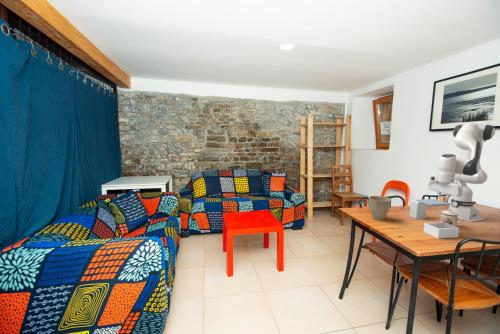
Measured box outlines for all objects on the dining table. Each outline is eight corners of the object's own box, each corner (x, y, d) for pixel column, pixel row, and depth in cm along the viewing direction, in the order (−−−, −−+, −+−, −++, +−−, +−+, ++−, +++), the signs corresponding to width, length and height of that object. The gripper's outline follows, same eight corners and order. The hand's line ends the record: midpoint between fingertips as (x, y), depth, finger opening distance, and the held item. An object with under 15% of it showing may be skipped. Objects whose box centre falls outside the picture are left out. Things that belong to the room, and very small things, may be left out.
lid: (437, 201, 155) (437, 194, 155) (453, 206, 145) (454, 198, 144) (415, 202, 153) (416, 195, 152) (430, 207, 142) (431, 199, 142)
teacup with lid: (436, 224, 162) (438, 208, 161) (443, 222, 166) (445, 206, 165) (457, 230, 151) (459, 213, 150) (464, 228, 155) (466, 211, 154)
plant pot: (364, 214, 181) (366, 195, 179) (385, 216, 178) (386, 196, 176) (370, 221, 166) (372, 200, 165) (393, 223, 163) (394, 201, 162)
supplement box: (425, 219, 173) (427, 202, 171) (415, 218, 173) (417, 202, 171) (418, 215, 180) (419, 200, 179) (409, 215, 180) (410, 200, 179)
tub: (442, 230, 150) (443, 222, 149) (458, 237, 140) (459, 228, 139) (423, 231, 148) (424, 222, 148) (438, 238, 138) (439, 228, 138)
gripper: (467, 182, 138) (464, 204, 140) (435, 176, 158) (433, 195, 160) (458, 182, 137) (455, 204, 139) (427, 176, 157) (425, 196, 159)
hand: (443, 199), depth 150 cm, fingers closed on lid, 2 cm apart
